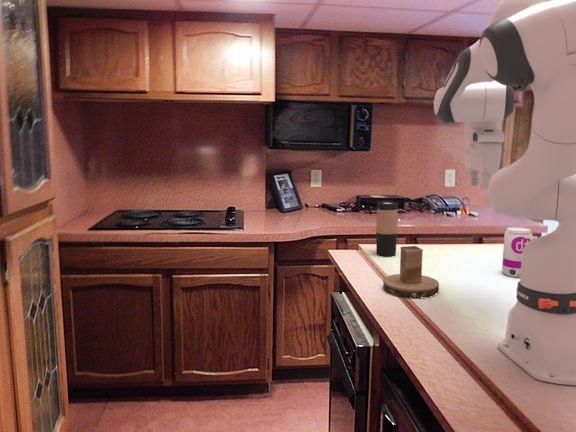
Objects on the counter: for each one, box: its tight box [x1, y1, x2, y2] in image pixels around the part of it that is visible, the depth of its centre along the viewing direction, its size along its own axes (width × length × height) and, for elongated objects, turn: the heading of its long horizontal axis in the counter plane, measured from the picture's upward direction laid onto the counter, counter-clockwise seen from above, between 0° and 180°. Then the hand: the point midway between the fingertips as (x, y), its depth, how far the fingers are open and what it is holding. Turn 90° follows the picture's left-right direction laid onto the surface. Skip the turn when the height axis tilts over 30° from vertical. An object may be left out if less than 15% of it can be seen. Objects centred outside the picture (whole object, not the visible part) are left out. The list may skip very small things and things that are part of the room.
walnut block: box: [399, 245, 424, 284], centre depth 147 cm, size 5×5×10 cm
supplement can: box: [501, 226, 534, 279], centre depth 161 cm, size 8×8×15 cm
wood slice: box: [382, 273, 440, 299], centre depth 148 cm, size 16×16×3 cm
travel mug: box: [375, 200, 399, 258], centre depth 188 cm, size 8×8×20 cm
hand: (479, 187), depth 134 cm, fingers open, 8 cm apart
